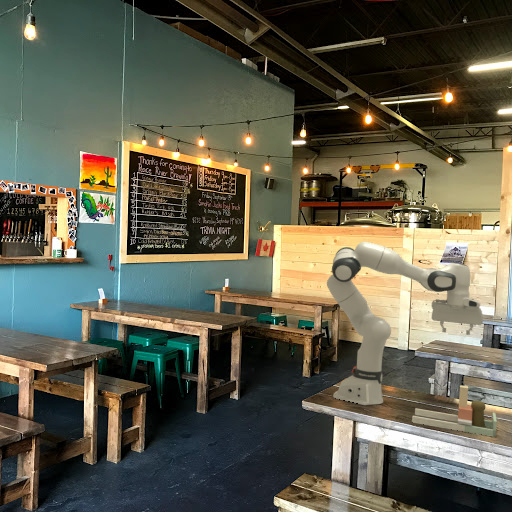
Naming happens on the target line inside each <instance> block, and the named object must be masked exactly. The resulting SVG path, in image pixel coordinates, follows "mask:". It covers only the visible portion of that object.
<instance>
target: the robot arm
mask: <svg viewBox="0 0 512 512" xmlns="http://www.w3.org/2000/svg"><path fill="white" fill-rule="evenodd" d="M362 268H368V269H371V270H373V271H376V272H378V273H382V274H387V275H399V276H404V278H405V277H406V278H408V279H410V280H413V281H415V282H417V283H419V284H420V285H421V286H422V287H423V288H424V289H425V290H427V291H431V292H434V293H442V292H447V293H446V299H440V298H439V299H437V298H436V299H434V300H432V301H431V309H432V312H431V320H432V321H434V322H439V324H440V326H441V329H442V330H441V331H442V333H447V327H445V326H444V324H445V323H453V324H464V325H465V324H467V325H469V329H466V331H465V332H466V333H465V336H470V335H471V331H472V329H473V328H474V325H476V326H481V325H483V321H484V320H483V319H484V318H483V310H482V309H481V308H480V307H481V302H480V301H479V300H476V299H474V298H472V297H471V298H470V290H469V289H470V287H471V286H470V285H471V270H470V267H469V266H468V264H467V265H466V264H464V263H460V262H450V263H449V264H448V265H445V266H442V267H440V268H432V267H431V268H423V267H420V266H418V265H415V264H413V263H410V262H408V261H406V260H405V259H404V258H402V257H401V255H400V254H399V253H397V251H395V250H393V249H391V248H389V247H386V246H383V245H381V244H379V243H378V244H377V243H373V242H369V241H368V242H367V241H361V242H359V243H358V244H357V245H356V247H355V249H354V248H352V247H351V246H350V247H348V246H346V247H342V248H339V249H338V250H337V252H336V253H335V255H334V258H333V260H332V266H331V272H332V273H331V275H330V276H329V277H328V278H327V279H326V280H327V281H326V286H327V289H328V290H329V292H330V294H331V296H332V297H333V299H334V300H335V302H336V303H337V305H338V306H339V307H340V308H341V310H342V311H343V312H344V313H345V315H346V316H347V318H348V319H349V320H348V321H349V322H350V323H351V325H352V327H353V329H354V330H355V332H356V333H357V334H358V335H359V336H361V337H362V341H361V345H360V347H359V349H357V357H356V365H355V366H353V368H352V370H351V374H352V375H350V376H349V377H347V378H345V379H344V380H343V381H341V382H340V383H339V386H338V387H339V388H338V390H336V391H335V392H334V393H333V396H332V398H334V399H335V398H336V399H335V400H339V399H340V401H343V400H345V401H344V402H348V401H350V402H349V403H352V402H354V403H353V404H356V403H358V404H357V405H362V406H369V405H380V404H383V403H384V399H383V393H382V392H383V391H382V381H383V370H382V364H383V363H382V362H383V353H384V349H385V345H386V343H387V340H389V338H390V337H391V335H392V328H391V325H390V324H389V322H387V321H386V320H385V319H384V318H383V317H379V316H377V315H375V314H374V313H373V312H372V311H371V309H370V307H369V304H368V301H367V300H366V298H365V297H364V296H363V294H362V293H361V292H360V289H358V288H357V286H356V285H355V283H354V282H353V279H354V278H355V277H356V276H357V274H359V273H360V271H361V269H362Z"/></svg>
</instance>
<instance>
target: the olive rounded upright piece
mask: <svg viewBox="0 0 512 512" xmlns="http://www.w3.org/2000/svg"><path fill="white" fill-rule="evenodd" d="M470 403H471V404H470V406H471V408H472V426H475V427H481V428H486V427H485V421H484V420H485V413H484V412H485V410H486V403H485V402H483V401H480V400H473V401H472V402H470Z"/></svg>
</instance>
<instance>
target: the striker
mask: <svg viewBox="0 0 512 512" xmlns="http://www.w3.org/2000/svg"><path fill="white" fill-rule="evenodd" d="M468 395H469V385H459V398H458V411H457V412H458V414H457V415H458V422H457V423H458V424H464V425H470V426H472V408H471V404H469V405H468Z"/></svg>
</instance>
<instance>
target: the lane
mask: <svg viewBox="0 0 512 512" xmlns="http://www.w3.org/2000/svg"><path fill="white" fill-rule="evenodd" d="M411 416H412V418H411V423H412V422H413V423H414V424H417V425H423V424H424V426H431V427H436V428H441V429H445V430H451V429H452V431H457V430H458V432H462V431H463V432H464V433H468V432H469V434H474V433H476V434H475V435H479V434H482V435H481V436H485V435H487V436H486V437H490V436H492V437H491V438H496V437H497V424H498V423H497V422H498V421H497V415H496V412H492V417H491V418H492V419H491V420H487V419H484V421H485V426H486V427H485V428H481V427H475V426H470V425H464V424H458V414H452V413H445V412H439V411H435V410H429V409H428V410H427V409H423V408H422V409H421V408H416V407H415V409H414V415H411ZM489 427H490V428H489Z"/></svg>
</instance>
